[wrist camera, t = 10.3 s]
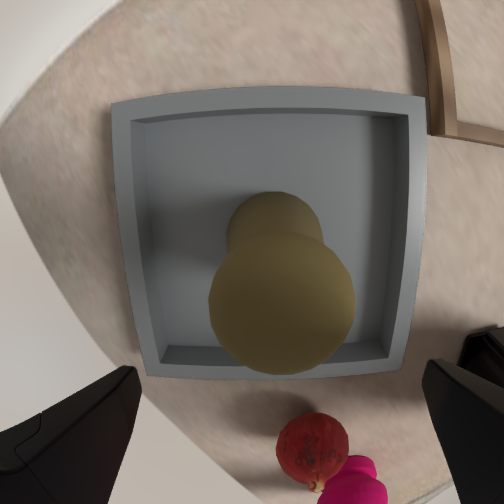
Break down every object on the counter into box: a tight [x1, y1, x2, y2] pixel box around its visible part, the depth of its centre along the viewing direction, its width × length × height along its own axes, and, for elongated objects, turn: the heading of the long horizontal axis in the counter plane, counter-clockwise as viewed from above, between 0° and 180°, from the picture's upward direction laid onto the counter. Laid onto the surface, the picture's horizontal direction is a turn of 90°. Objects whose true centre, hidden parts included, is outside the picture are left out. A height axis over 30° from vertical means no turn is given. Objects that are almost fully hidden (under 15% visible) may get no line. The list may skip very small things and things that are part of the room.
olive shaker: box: [208, 191, 356, 375], centre depth 15 cm, size 6×6×11 cm
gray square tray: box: [111, 86, 427, 380], centre depth 19 cm, size 18×18×3 cm
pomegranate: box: [276, 412, 349, 493], centre depth 21 cm, size 6×6×8 cm
